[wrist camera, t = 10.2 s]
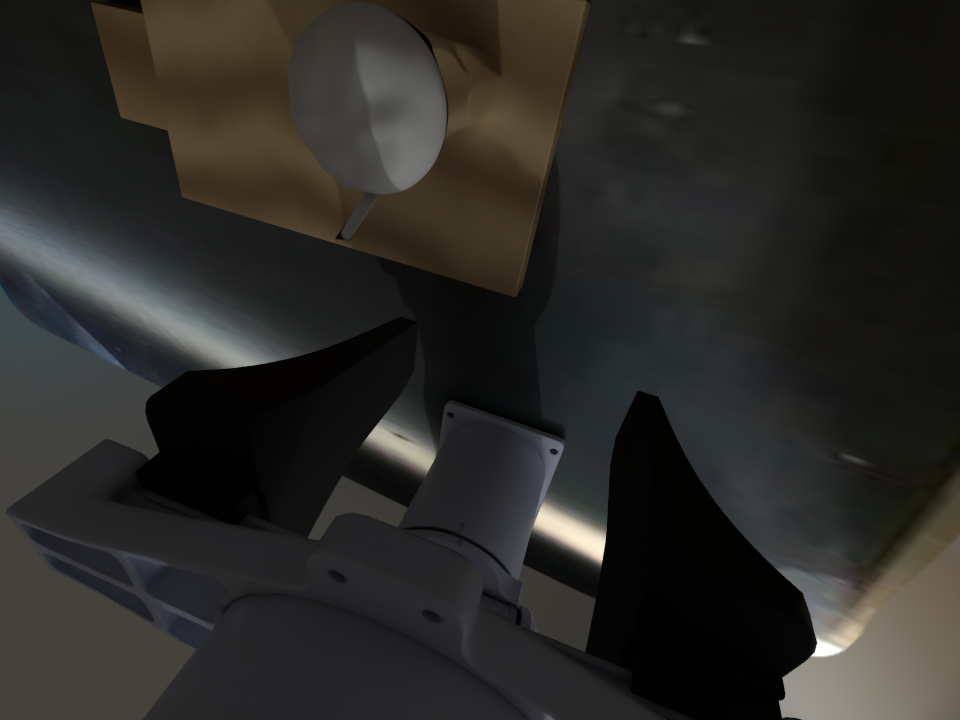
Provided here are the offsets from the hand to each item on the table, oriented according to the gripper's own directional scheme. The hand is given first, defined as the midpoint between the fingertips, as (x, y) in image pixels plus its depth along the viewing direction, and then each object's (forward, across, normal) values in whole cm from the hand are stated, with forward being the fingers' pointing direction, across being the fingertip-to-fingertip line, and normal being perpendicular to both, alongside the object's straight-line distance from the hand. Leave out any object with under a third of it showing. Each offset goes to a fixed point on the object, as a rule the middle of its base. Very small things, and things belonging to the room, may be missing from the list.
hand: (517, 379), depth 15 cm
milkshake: (+9, +6, -6) cm, 12 cm away
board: (+10, +13, -4) cm, 17 cm away
